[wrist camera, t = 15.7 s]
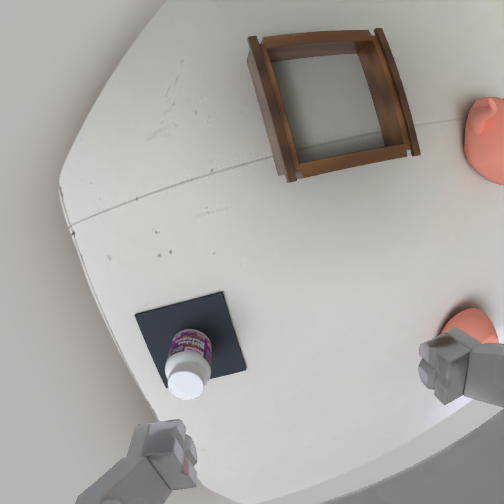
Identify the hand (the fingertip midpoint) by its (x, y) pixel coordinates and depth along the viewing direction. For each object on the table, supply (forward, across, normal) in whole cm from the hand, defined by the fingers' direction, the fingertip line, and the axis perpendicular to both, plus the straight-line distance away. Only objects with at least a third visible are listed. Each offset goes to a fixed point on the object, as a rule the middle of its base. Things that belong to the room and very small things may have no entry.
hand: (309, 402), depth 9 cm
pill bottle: (+31, +10, +12) cm, 34 cm away
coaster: (+31, +10, +12) cm, 35 cm away
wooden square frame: (+31, -15, -14) cm, 37 cm away
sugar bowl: (+31, -33, +27) cm, 53 cm away
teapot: (+31, -42, -6) cm, 53 cm away
